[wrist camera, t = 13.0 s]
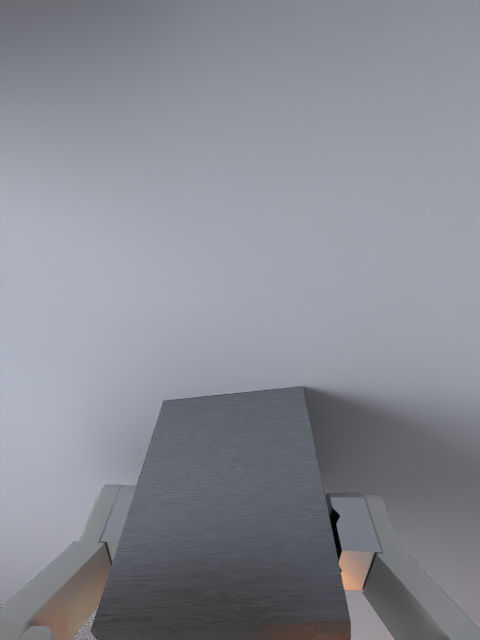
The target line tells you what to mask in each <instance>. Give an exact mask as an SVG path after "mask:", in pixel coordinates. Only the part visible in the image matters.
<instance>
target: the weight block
mask: <svg viewBox="0 0 480 640" xmlns="http://www.w3.org/2000/svg"><path fill="white" fill-rule="evenodd" d="M91 632H92V634H93V635H94V636H95V638H96V639H97V640H351V623H350V616H349V611H348V606H347V601H346V596H345V591H344V586H343V581H342V577H341V572H340V567H339V562H338V557H337V552H336V547H335V542H334V537H333V532H332V527H331V522H330V518H329V513H328V508H327V503H326V498H325V493H324V488H323V483H322V478H321V473H320V468H319V463H318V459H317V454H316V449H315V444H314V439H313V434H312V429H311V424H310V419H309V414H308V409H307V404H306V400H305V395H304V390H303V387H295V388H285V389H275V390H266V391H256V392H246V393H236V394H226V395H217V396H207V397H197V398H187V399H177V400H168V401H163V404H162V407H161V411H160V414H159V417H158V420H157V423H156V426H155V429H154V433H153V436H152V439H151V442H150V445H149V448H148V452H147V455H146V458H145V461H144V464H143V467H142V471H141V474H140V477H139V480H138V483H137V486H136V489H135V493H134V496H133V499H132V502H131V505H130V508H129V512H128V515H127V518H126V521H125V524H124V527H123V530H122V534H121V537H120V540H119V543H118V546H117V549H116V553H115V556H114V559H113V562H112V565H111V568H110V572H109V575H108V578H107V581H106V584H105V587H104V590H103V594H102V597H101V600H100V603H99V606H98V609H97V613H96V616H95V619H94V622H93V625H92V628H91Z"/></svg>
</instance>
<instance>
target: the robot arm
mask: <svg viewBox="0 0 480 640" xmlns="http://www.w3.org/2000/svg"><path fill="white" fill-rule="evenodd" d="M135 489H136V486H129V485H109V484H105V485H104V486H103V488H102V489H101V490H100V493H99V495H98V498H97V500H96V502H95V505H94V507H93V510H92V512H91V514H90V517H89V519H88V522H87V524H86V526H85V529H84V531H83V534H82V536H81V539H80V541H74V542H73V543H72V544H71V545H70V546H69V547H67V548H66V549H65V550H64V551H63V552H62V553H61V554H60V555H59V556H58V557H57V558H56V559H54V560H53V561H52V562H51V563H50V564H49V565H48V566H47V567H46V568H45V569H44V570H43V571H41V572H40V573H39V574H38V575H37V576H36V577H35V578H34V579H33V580H32V581H31V582H30V583H29V584H27V585H26V586H25V587H24V588H23V589H22V590H21V591H20V592H19V593H18V594H17V595H16V596H14V597H13V598H12V599H11V600H10V601H9V602H8V603H7V604H6V605H5V606H4V607H3V608H1V609H0V640H72V639H73V637H74V636H75V635H76V633H77V632H78V631H79V630H80V628H81V627H82V626H83V624H84V623H85V622H86V621H87V619H88V618H89V617H90V616H91V614H92V613H93V612H94V610H95V609H96V608H97V607H98V605H99V603H100V600H101V597H102V594H103V590H104V587H105V584H106V581H107V578H108V575H109V572H110V568H111V565H112V562H113V559H114V556H115V553H116V549H117V546H118V543H119V540H120V537H121V534H122V530H123V527H124V524H125V521H126V518H127V515H128V512H129V508H130V505H131V502H132V499H133V496H134V493H135ZM325 498H326V503H327V508H328V513H329V518H330V522H331V527H332V532H333V537H334V542H335V547H336V552H337V557H338V562H339V567H340V572H341V577H342V581H343V586H344V590H359V591H363V594H364V596H365V597H366V598H367V600H368V601H369V603H370V604H371V606H372V607H373V609H374V610H375V611H376V613H377V614H378V616H379V617H380V619H381V620H382V622H383V623H384V625H385V626H386V627H387V629H388V630H389V632H390V633H391V635H392V636H393V638H394V639H395V640H480V628H479V627H478V626H477V625H476V624H475V623H474V622H473V621H472V620H471V619H470V618H469V617H468V616H467V615H466V614H465V613H464V612H463V611H462V610H461V609H460V608H459V607H458V606H457V604H456V603H455V602H454V601H453V600H452V599H451V598H450V597H449V596H448V595H447V594H446V593H445V592H444V591H443V590H442V589H441V588H440V587H439V586H438V585H437V584H436V583H435V582H434V581H433V580H432V578H431V577H430V576H429V575H428V574H427V573H426V572H425V571H424V570H423V569H422V568H421V567H420V566H419V565H418V564H417V563H416V562H415V561H414V560H413V559H412V558H411V557H410V556H409V555H408V554H403V553H402V550H401V547H400V545H399V542H398V539H397V536H396V534H395V531H394V528H393V525H392V523H391V520H390V517H389V514H388V512H387V509H386V506H385V503H384V501H383V498H382V497H381V496H380V495H378V494H361V493H327V494H326V497H325Z"/></svg>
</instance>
